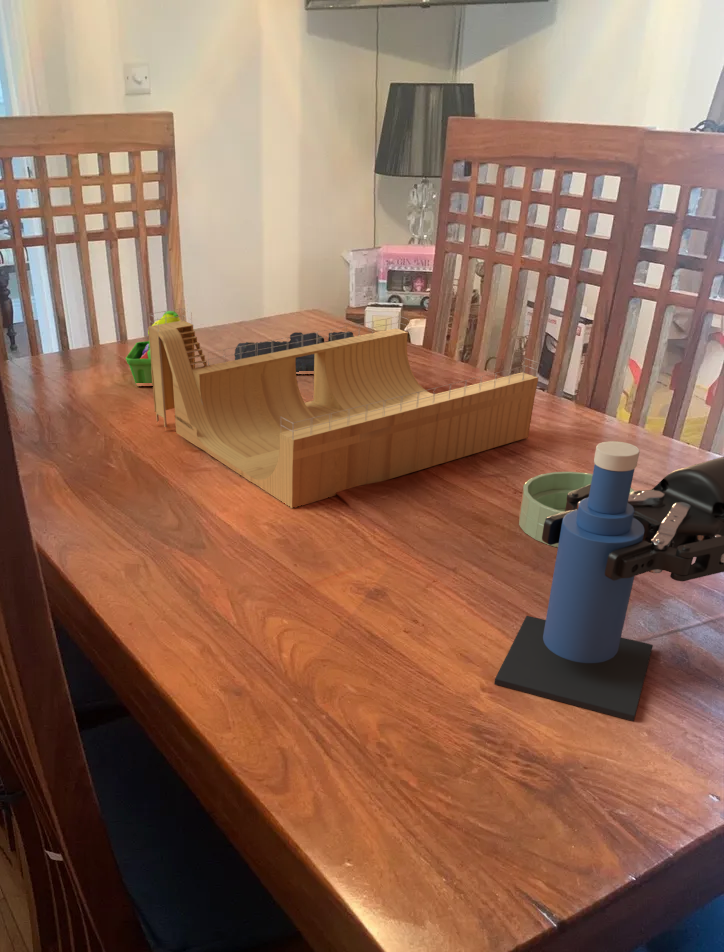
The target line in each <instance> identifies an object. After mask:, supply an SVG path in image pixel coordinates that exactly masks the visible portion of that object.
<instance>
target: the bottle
mask: <svg viewBox="0 0 724 952" xmlns="http://www.w3.org/2000/svg"><path fill="white" fill-rule="evenodd" d="M640 452H641V451H640V448H639V447H638V446H636V445H634V444H632V443H629V442H624V441H617V440H616V441H615V440H614V441H613V440H609V441H602V442H599V443H597V444H596V447H595V451H594V458H593V464H594V465H593V471H592V474H593V476H592V481H591V487H590V492H589V497H588V498H585V499H583V500H582V501H581V502H580V503H579V507H578V510H575V511H572V512H570V513H568V514H566V515H565V516H564V518H563V520H562V526H561V532H560V538H559V544H558V547H557V551H556V557H555V561H554V562H555V563H554V569H553V575H552V581H551V588H550V593H549V599H548V605H547V611H546V618H545V620H546V622H545V628H544V634H543V641H544V643H545V645H546V646H547V648H548V649H549V650H550V651H552V652H553V653H554V654H556V655H558V656H560V657H562V658H565V659H567V660H571V661H575V662H580V663H599V662H604V661H607V660H609V659H611V658H613V657H614V656H615V655H616V654H617V652H618V648H619V643H620V639H621V638H622V634H623V631H624V630H623V629H624V625H625V621H626V615H627V612H628V608H629V602H630V598H631V594H632V589H633V585H634V580H635V576H634V577H631V578H621V579H618V580H615V581H613V580H611V579H610V578H608V577H606V576H605V569H606V564H607V559H608V556H609V554H610V553H611V552H612V551H614V550H617V549H621V548H624V547H627V546H630V545H633V544H636V543H639V542H642V541H643V536H644V532H645V530H644V526H643V525H642V524H641V523H640V522H639V521H638V520H637V519H635V518H634V517H633V516H634V508H633V506H632V505H630V504H629V503H628V498H629V493H630V488H632V483H633V478H634V474H635V469H636V468H637V467H638V462H639V458H640Z"/></svg>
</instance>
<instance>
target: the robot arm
mask: <svg viewBox="0 0 724 952" xmlns="http://www.w3.org/2000/svg"><path fill="white" fill-rule="evenodd" d="M590 487H591V484H590V485H587V486H585V487H582V488H580V489H577V490H574V491H572V492H569V493H568V494H567V503H566V509H565V512H562V513H559V514H555V515H552V516H548V517H547V518H546V519H545V522H544V528H543V534H542V540H543V541H544V542H546V543H547V544H549V545H548V546H550V545H553V544H556V543H559V538H560V532H561V526H562V520H563V518H564V516H565V515H566V514H568V513H570V512H572V511H575V510H578V507H579V503H580V502H581V501H582V500H583V499H585V498H588V497H589V492H590ZM628 503H629V504H630V505H632V506H633V508H634V516H633V517H634V518H635V519H637V520H638V521H639V522H640V523H641V524H642V525H643V526H644V530H645V532H644V536H643V541H642V542H639V543H636V544H633V545H630V546H627V547H624V548H621V549H617V550H614V551H612V552H611V553H610V554H609V556H608V559H607V564H606V569H605V576H606V577H608V578H610V579H611V580H613V581H615V580H618V579H621V578H631V577H634V578H635V577H636V576H639V575H642V574H645V573H652V574H660V573H662V572H663V571H664V572H667V573H670V575H669V576H670V578H671V579H672V580H674V581H677V582H686V581H691V580H696V579H699V578H700V579H701V578H703V577H708V576H712V575H716V574H720V573H724V456H720V457H716V458H713V459H710V460H706V461H703V462H699V463H696V464H692V465H688V466H685V467H682V468H678V469H675V470H673V471H671V472H670V473H668V474H667V475H666V476H664V477H663V478H662V479H661V480H660V481H659V482H658V483H657V484H656V485H655V486H654V487H652V488H651V489H645V490H644V489H643V490H634V491H633V492H631V493H630V494H629V498H628ZM547 544H546V545H547ZM694 558H695V561H694V562H693V560H694Z"/></svg>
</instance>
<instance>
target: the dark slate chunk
mask: <svg viewBox="0 0 724 952" xmlns="http://www.w3.org/2000/svg"><path fill="white" fill-rule="evenodd" d="M347 332H349V333H347ZM309 333H310V334H308V333H303V332H292V333H291V334H290V335H289V340H285V341H279V340H272V341H271V340H270V341H268V342H266V341H267V340H265V341H261V342H262V343H260V342H258V341H256V342H253V341H252V342H249V341H246V342H238V344H237V345H236V346H235V347H236V348H234V354H235V355H233V356H234V360H238V359H244V358H249V357H254V356H257V355H258V356H259V355H264V354H269V353H274V352H279V351H284V350H289V349H294V348H299V347H304V346H309V345H314V344H316V334H317V332H315V333H313V332H309ZM342 333H344V334H342ZM303 334H305V335H303ZM337 334H339V335H337ZM297 335H299V336H297ZM332 335H334V336H332ZM292 336H294V337H292ZM321 337H323V336H322V335H320V334H318V341H317V344H320V343H325V342H330V339H331V337H332V341H335V340H340V339H344V337H345V338H350V337H355V335H354V332H352V331H350V330H348V331H337V332H336V331H332V332H329V333H328V338H327V339H328V340H327V341H325V337H323V338H321ZM311 339H313V340H311ZM306 340H308V341H306ZM301 341H302V342H301ZM295 342H297V343H295ZM255 343H256V344H255ZM290 343H292V344H290ZM250 344H252V345H250ZM285 344H287V345H285ZM244 345H247V346H244ZM280 345H282V346H280ZM239 346H240V347H239ZM275 346H277V347H275ZM270 347H272V348H270ZM264 348H266V349H264ZM259 349H261V350H259ZM254 350H256V351H254ZM249 351H251V352H249ZM244 352H246V353H244ZM239 353H240V354H239ZM314 355H315V354H311V355H306V356H301V357H296V364H295V365H296V372H299V371H314Z"/></svg>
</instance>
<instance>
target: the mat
mask: <svg viewBox="0 0 724 952" xmlns="http://www.w3.org/2000/svg"><path fill="white" fill-rule="evenodd" d="M545 622H546V619H543V618H539V617H535V616H531V615H526V616H525V618H524V620H523V622H522V624H521V626H520V628H519V630H518V632H517V633H516V636H515V638H514V640H513V642H512V643H511V646H510V648H509V650H508V652H507V654H506V655H505V658H504V660H503V662H502V663H501V665H500V668H499V670H498V671H497V674H496V677H495V678H494V683H493V684H494V685H496V686H499V687H504V688H507V689H511V690H514V691H518V692H522V693H524V694H525V693H526V694H530V695H534V696H537V697H540V698H544V699H548V700H551V701H556V702H560V703H564V704H567V705H570V706H574V707H578V708H581V709H585V710H590V711H592V712H597V713H601V714H605V715H607V716H612V717H615V718H619V719H624V720H627V721H631V722H634V721H635V719H636V715H637V710H638V706H639V702H640V698H641V694H642V691H643V688H644V687H643V686H644V682H645V679H646V675H647V671H648V667H649V663H650V658H651V656H652V655H651V654H652V651H653V648H654V646H653V644H651V643H647V642H644V641H643V642H642V641H639V640H634V639H629V638H625V637H621V639H620V643H619V648H618V652H617V654H616V655H615V656H614V657H613V658H611V659H609V660H607V661H604V662H599V663H580V662H575V661H571V660H567V659H565V658H562V657H560V656H558V655H556V654H554V653H553V652H552V651H550V650H549V649H548V648H547V646H546V645H545V643H544V641H543V634H544V628H545Z"/></svg>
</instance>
